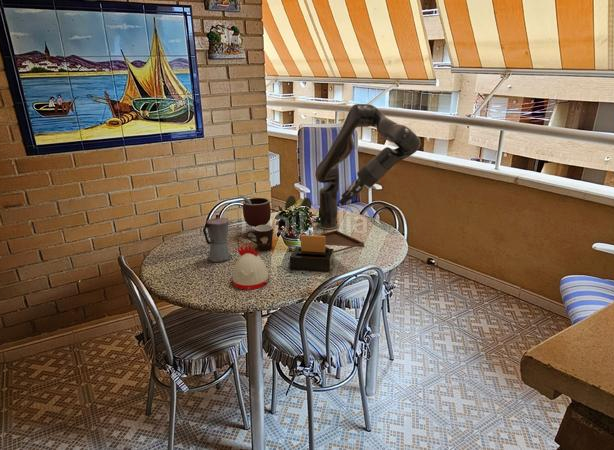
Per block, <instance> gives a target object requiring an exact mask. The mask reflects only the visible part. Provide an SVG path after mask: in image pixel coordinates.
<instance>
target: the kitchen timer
mask: <svg viewBox="0 0 614 450" xmlns="http://www.w3.org/2000/svg"><path fill="white" fill-rule="evenodd" d="M255 251H256V247H253V249H252V244H249V247H248V245H247V244H246V245H245V247H243V245H242V244H241V245H240V248H239V247H238V248H237V252H238V254H239V255H240V256H239V258H238V259H237V260H236V261H235V262H234V267H233V270H232V271H233V272H232V277H231V278H232V285H233V286H234V288H235V287H236V288H237V289H241V290H255V289H260V288H262V287H264V286H266V285H267V284H268V282H267V281H268V279H269V276H270V275H269V272H268V269H267V266H266V264H265V262H264V260H263V259H262V257H260V256H259V255H258V254H259V252H260V250H257V252H255Z"/></svg>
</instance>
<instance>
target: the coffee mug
mask: <svg viewBox="0 0 614 450" xmlns="http://www.w3.org/2000/svg"><path fill="white" fill-rule="evenodd" d="M253 229H254V230H255V232H253V231H249V232H248V233H253V234H254V235H255V236H256V238H255V240H253V239H251V237H249V236H247V235H248V233H247V235H246V234H245V235H246V238H247V239H248V240H249V241H250V242H252V243H254V244H255V245H257V251H259V252H260V251H261V252H268V251H271V250H272V249H273V235H274V234H273V233H274V226H273V225H271V224H266V225H259V226H256V227H254V228H253Z"/></svg>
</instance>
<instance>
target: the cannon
mask: <svg viewBox="0 0 614 450" xmlns="http://www.w3.org/2000/svg"><path fill="white" fill-rule="evenodd" d="M292 205H294V206H307V207H309V208H311V209H312V201H311V198H309V197H304V198H302V197H300V198H299V199H298V200H296V198H295V196H294V195H289V196H287V198H286V200H285V205H284V210H285V209H287V208H289V207H290V206H292Z"/></svg>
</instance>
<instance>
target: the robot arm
mask: <svg viewBox="0 0 614 450" xmlns="http://www.w3.org/2000/svg"><path fill="white" fill-rule="evenodd" d="M368 127H369V128H370V127H372V128H376V131H377V134H378V135H379V136H380V137H381V138H382V139H385V140H386V141H388V142H390V143H393V144H395V145H396V148H391V147H388V146H387V147H384V148H383V149H382V150H381V151H380V152H379V153H377V154H376V155H375V156H374V157H373V158H371V159H370V160H369V161H368V162H367V163H366V164H364V166H363V167H361V168H360V169H359V170H358V171H357V172H356V175H357V177H358V178H357V179H355V180H354V181H353V182H352V183H351V184H350V185H349V187H348V188H347V190H345V192H343V193H342V194H341V198H340V199H339V201H338V192H339V185H340V184H339V183H340V170H339V166H338V165H339V164H341V163H342V162H343V161H345V160H346V159H348V157H349V156H350V154H351V153H352V151H353V150H354V147H355V140H354V139H355V138H354V135H353V133H354V131H355V130H356V129H357V128H368ZM421 141H422V140H421V139H420V137H419V136H418V135H417V134H416V133H415V132H414V131H412V129H411V128H409V127H407V126H406V125H404V124H400V123H397V122H395V121H393V120H392V119H390V118H388V117H386V115H384V114H383V113H382V112H381V110H379V109H378V108H377V106H375V105H373V104H371V103H355V104H353V105H352V106H350V109H349V111H348V112H347V114H346V117H345V120H344V122H343V124H342V125H341V128H340V130H339V132H338V134H337V135H336V137H335V138H334V140H333V142H332V144H331V146H330V147H329V149H328V151H327V153H326V154H325V155H324V157H323V159H321V161H320V162H319V163H318V165H317V167H316V168H315V173H314V176H315V180H316V181H317V182H318V183H320V184H325V185H324V186H323V187H321V188H319V192H318V196H319V197H318V201H319V204H318V205H319V208H318V216H316V217H315V220H313V223H317V224H318V226H319V228H320V229H322V230H334V229H336V228H337V229H338V223H339V222H338V203H339V204H340V206H342V207H343V206H344V205H346V204H347V203H348V202H349V201H351V200H353V199H354V197H356V196H357V195H358V194H360V192H362V191H363V189H364V187H365V186H366V187H368V188H372V187H373V186H374V185H376V183H377V182H379V181H380V180H381V179H382V178H383V177H384V176H385V175H386V173H388V172H389V171H390V170H391V169H392V168H393V167H394V166H395V165H396V164H398V163H399V162H401V161H403V160H405V159H407V158H408V157H411V156H413V155H414V154H415V153H416V152H417V151H418V150H420V149H419V148H420V147H421V144H422V142H421ZM271 211H273V212H277V213H279V212H278V211H279V210H277V209H274V208H271Z"/></svg>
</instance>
